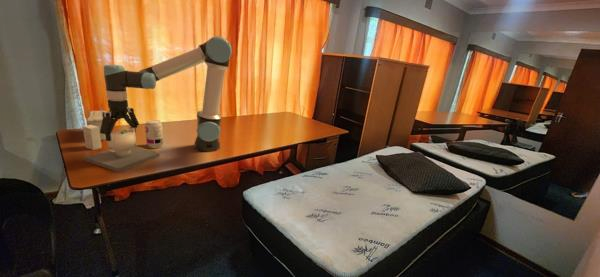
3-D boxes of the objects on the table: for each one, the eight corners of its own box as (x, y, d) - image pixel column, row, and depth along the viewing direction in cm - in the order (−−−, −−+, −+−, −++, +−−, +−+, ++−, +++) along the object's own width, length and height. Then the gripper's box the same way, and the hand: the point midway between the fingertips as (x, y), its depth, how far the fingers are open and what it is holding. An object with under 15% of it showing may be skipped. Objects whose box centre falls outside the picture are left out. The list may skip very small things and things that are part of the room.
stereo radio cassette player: (92, 130, 149) (87, 99, 143) (109, 130, 154) (105, 99, 147) (89, 142, 133) (83, 107, 127) (107, 141, 138) (103, 107, 132)
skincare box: (102, 147, 129) (99, 126, 125) (93, 150, 125) (90, 128, 121) (94, 145, 131) (91, 124, 127) (85, 147, 127) (81, 126, 123)
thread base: (159, 156, 128) (158, 144, 126) (118, 172, 108) (117, 159, 106) (128, 147, 134) (127, 136, 132) (84, 160, 114) (82, 147, 112)
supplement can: (146, 149, 135) (144, 123, 130) (147, 143, 141) (145, 119, 137) (162, 148, 138) (161, 123, 134) (163, 143, 145) (161, 119, 140)
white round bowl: (131, 150, 115) (129, 136, 113) (104, 149, 112) (102, 135, 110) (139, 142, 125) (138, 129, 123) (115, 141, 122) (113, 128, 120)
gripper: (132, 95, 123) (136, 135, 130) (84, 101, 101) (91, 149, 108) (145, 97, 122) (148, 137, 129) (98, 104, 100) (105, 152, 107)
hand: (122, 142), depth 118 cm, fingers closed on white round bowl, 11 cm apart
